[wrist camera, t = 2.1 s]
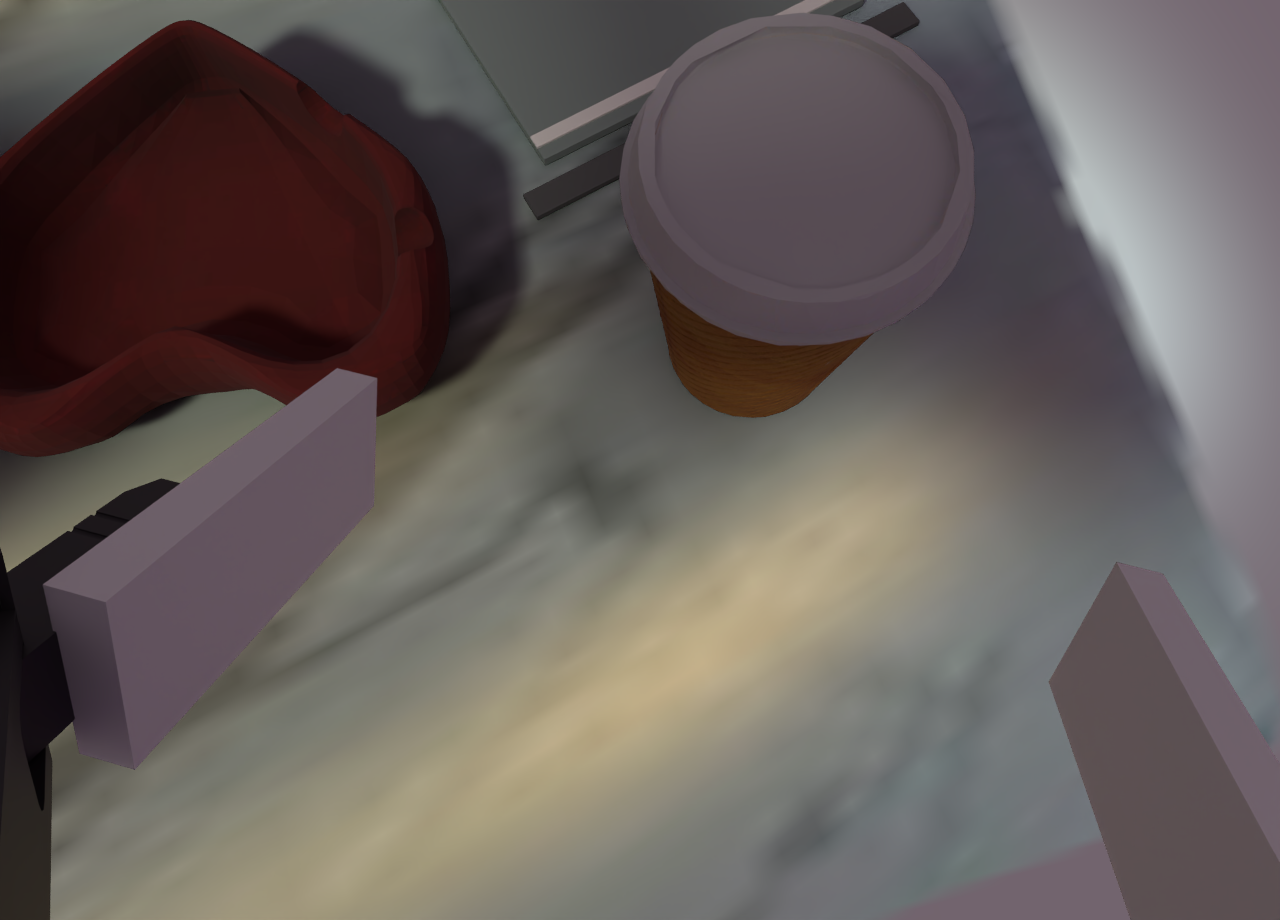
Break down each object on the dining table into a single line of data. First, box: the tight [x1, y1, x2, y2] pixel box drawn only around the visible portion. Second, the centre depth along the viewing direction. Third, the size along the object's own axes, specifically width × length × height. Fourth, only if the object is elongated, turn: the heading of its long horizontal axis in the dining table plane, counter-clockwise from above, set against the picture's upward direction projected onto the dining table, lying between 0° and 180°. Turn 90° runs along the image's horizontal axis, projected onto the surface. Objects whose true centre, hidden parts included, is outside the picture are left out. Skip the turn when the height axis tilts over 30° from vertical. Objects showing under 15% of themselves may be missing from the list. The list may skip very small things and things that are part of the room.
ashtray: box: [0, 20, 450, 457], centre depth 32 cm, size 18×16×5 cm
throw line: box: [523, 2, 919, 220], centre depth 36 cm, size 1×19×1 cm, turn 121°
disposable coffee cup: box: [619, 13, 976, 418], centre depth 27 cm, size 10×10×12 cm
